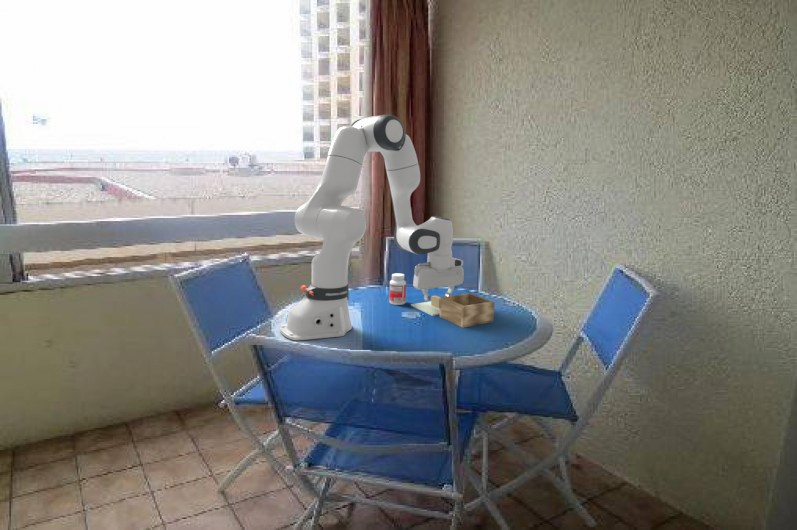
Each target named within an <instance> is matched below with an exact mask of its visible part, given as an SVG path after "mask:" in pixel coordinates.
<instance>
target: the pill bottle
mask: <svg viewBox="0 0 797 530" xmlns="http://www.w3.org/2000/svg"><path fill="white" fill-rule="evenodd" d="M406 294H407V281H406V280H405V274H404V273H400V272H399V273H398V272H396V273H392V274H391V279H390V281H389V295H388V296H389V297H388V299H389V300H388V301H389V303H390V305H393V306H402V305H405V304H406V303H407V302H406V300H407V295H406Z"/></svg>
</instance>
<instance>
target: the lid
mask: <svg viewBox="0 0 797 530" xmlns="http://www.w3.org/2000/svg"><path fill="white" fill-rule="evenodd" d="M440 297H441V296H438V295H432V296H430V300H429V301H424V302H418V303H417V302H416V303H411V304H410V306H411V307H412V308H415V309H416V310H419V311H421V312H423V313H425V314H426V315H427V314H428V315H429V316H432V317H434V316H440Z"/></svg>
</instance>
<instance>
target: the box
mask: <svg viewBox="0 0 797 530" xmlns="http://www.w3.org/2000/svg"><path fill="white" fill-rule="evenodd" d="M439 297H440V315H439V317H440V318H441V319H443V320H446V321H448V322H449V323H452V324H454V325H456V326H459V327H460V328H463V329H464V328H468V327H474V326H480V325H484V324H491V323H494V315H495V301H493V300H489V299H487V298H484V297H481V296H479V295H478V294H477V295H476V294H473V293H471V292H469V293H462V294H454V295H451V296H439Z"/></svg>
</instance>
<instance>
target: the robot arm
mask: <svg viewBox="0 0 797 530" xmlns="http://www.w3.org/2000/svg"><path fill="white" fill-rule="evenodd" d="M333 136H334V137H333V139H332V141H331V144H330V146H329V150H328V152H327V157H326V160H325V165H324V167H323V170H322V171H323V172H322V175H321V177H320V181H319V183H318V185H317V187H316V188H315V190H314V192H313V194H312V195H311V197H310V198H308V200H307V201H306V202H305V203H304V204H301V206H299V208H298V209H297V210H296V211H295V214H294V219H293V220H294V221H293V222H294V226H295V228H296V230H297V231H298V233H300V234H302V235H303V236H307V237H308V238H311V239H315V240H316V239H317V240H322V247H321V250H320V252H319V253H318V254H316V255H315V256H314V257H313V258H312V260H311V284H309V286H307V285H305V284H303V285H301V286H300V287H299V288H300V291H301V292H303V293H305V297H304V298H303V299H301V300H300V301H299V302H298V303H296V304H295V305H294V306H293V307H291V309H290V310H289V311H288V313H287V319H286V323H283V324H280V326H279V332H280V333H281V334H282V336H283V337H285V338H287V339H289V340H292V341H305V340H317V339H325V338H326V339H327V338H335V337H337V338H338V337H344V336H345V335H346V334H347V332H349V331H351V330H352V329H353V325H352V320H351V317H350V312H349V302H348V301H349V298H350V297H349V296H350V288H349V287H350V286H349V283H348V273H349V272H348V271H349V270H348V269H349V259H350V255H351V252H352V250H353V249H354V246H355V245H356V244H357V242H359V241H360V240H361V239H362V238H363V237H364V235H365V234H366V231H367V221H366V218H365V215H364V214H363V213H362V212H361V211H360V210H359V209H355V208H352V207H350V206H346V205H345V206H344V205H343V202H344V201H345V200H347V198H348V197H350V196H352V195H353V194H354V193H355V192H356V190H357V188H358V185H359V181H360V177H361V176H360V175H361V172H362V170H363V169H362V168H363V164H364V159H365V156H366V154H367V153H368V152H369V153H378V152H379V153H380V154H381V155H382V157H383V160H384V166H385V171H386V175H387V180H388V184H389V190H390V195H391V203H392V208H393V209H392V210H393V216H394V222H395V223H394V225H395V226H394V231H393V241H394V243H395V245H396V246H397V247H398V248H399V249H400V250H404V251H407V252H410V253H413V254H415V255H424V254H427V258H426V262H423V263H422V262H421V263H418V264H417V265H416V266H415V267H414V275H413V281H412V283H413V284H412V287H414V288H415V289H416V290H421V292H422V295H424V296H423V300H424V301H425V302H429V301H431V295H429V293H428V292H429V289H437V288H444V287H445V288H447V287H448V289H447V291H446V292H445V294H444V295H445V296H444V297H446V296H452V293H453V292H454V290H455V286H460V285H462V284H463V282H464V280H465V279H464V277H465V275H464V272H465V271H464V267H463V266H464V260H463V259H460V258H456V257H455V256H453V251H452V250H453V249H452V246H453V242H454V226H453V223H452V220H450V219H449V218H446V217H442V216H438V215H432V216H431V217H430V218H429V219H428V220H426V221H425V222H423V223H421V224H419V225H417V224H416V223H415V221H414V220H413V215H412V212H413V211H412V207H411V196H412V193H413V192H414V191H415V190H417V188H418V187H419V186H420V182H421V171H420V165H419V162H418V156H417V153H416V150H415V149H416V148H415V147H414V144H413V141H412V139H411V137H410V136H409V134H406V131H405V127H404V124H403V122H402V121H401V120H400V118H398V116H397V115H396V116H395V115H393V114H382V115H371V116H367V117H363V118H362V119H361V118H360V119H357V120H355V121H354V122H352V123H351V124H349V125H344V126H341V127H339V128H338V129H337V130H336V133H335V135H333Z"/></svg>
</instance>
